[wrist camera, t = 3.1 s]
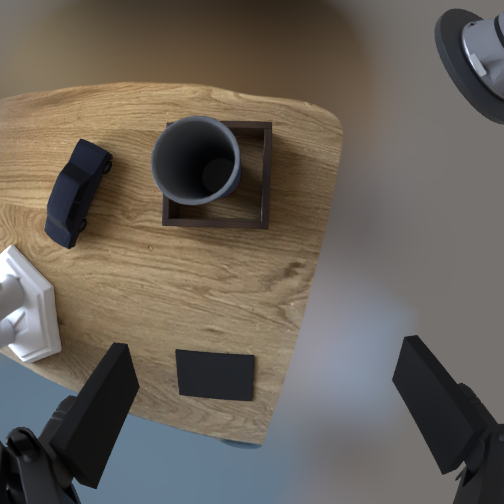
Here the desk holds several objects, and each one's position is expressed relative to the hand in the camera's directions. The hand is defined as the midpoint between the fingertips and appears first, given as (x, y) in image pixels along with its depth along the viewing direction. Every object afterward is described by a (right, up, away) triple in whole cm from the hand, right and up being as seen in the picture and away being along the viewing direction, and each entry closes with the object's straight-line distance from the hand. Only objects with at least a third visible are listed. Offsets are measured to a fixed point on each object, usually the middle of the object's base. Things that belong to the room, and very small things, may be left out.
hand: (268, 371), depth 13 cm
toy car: (-25, +13, +24) cm, 37 cm away
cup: (-5, +15, +23) cm, 28 cm away
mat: (-6, -13, +27) cm, 31 cm away
